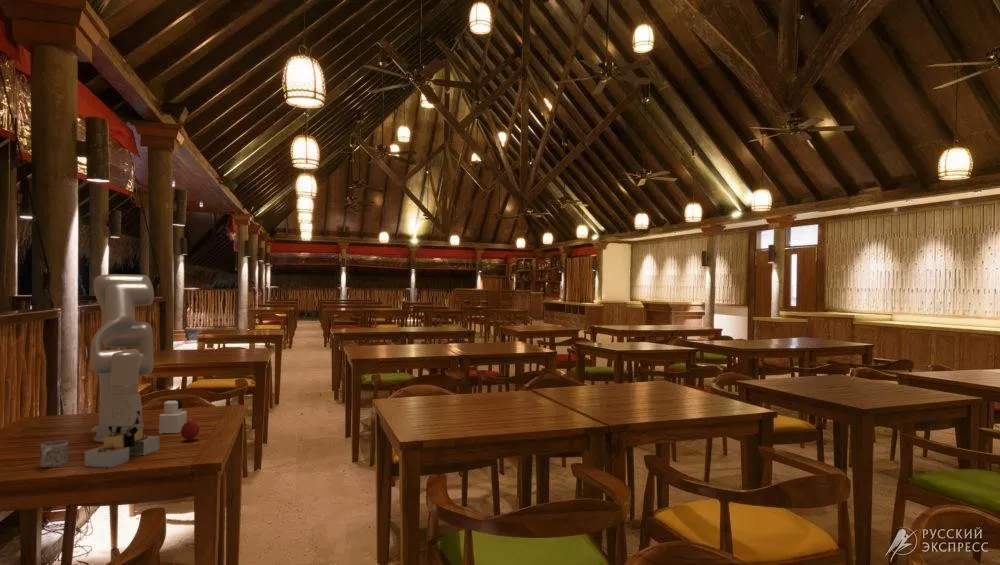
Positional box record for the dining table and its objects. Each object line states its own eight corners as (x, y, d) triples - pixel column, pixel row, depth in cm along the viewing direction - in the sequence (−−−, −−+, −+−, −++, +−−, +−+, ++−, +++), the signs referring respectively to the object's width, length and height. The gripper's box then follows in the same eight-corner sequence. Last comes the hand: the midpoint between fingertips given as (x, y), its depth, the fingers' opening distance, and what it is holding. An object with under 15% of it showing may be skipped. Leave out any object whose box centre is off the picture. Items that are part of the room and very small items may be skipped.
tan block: (103, 452, 177) (103, 434, 177) (133, 442, 189) (133, 425, 189) (113, 453, 177) (113, 435, 177) (142, 443, 189) (143, 426, 189)
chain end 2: (118, 454, 186) (118, 439, 187) (135, 448, 193) (135, 433, 194) (143, 455, 185) (143, 439, 185) (159, 449, 192) (159, 434, 192)
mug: (47, 462, 178) (48, 441, 178) (72, 460, 180) (72, 439, 180) (29, 472, 168) (29, 449, 169) (55, 470, 170) (55, 448, 170)
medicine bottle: (167, 429, 221) (168, 398, 221) (186, 429, 222) (187, 398, 222) (158, 434, 214) (158, 402, 214) (178, 433, 215) (178, 401, 215)
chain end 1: (84, 466, 174) (84, 449, 174) (103, 459, 181) (103, 443, 181) (111, 467, 172) (111, 450, 172) (129, 460, 179) (129, 444, 179)
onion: (190, 443, 200) (191, 420, 200) (176, 442, 201) (177, 420, 202) (202, 439, 206) (202, 417, 206) (188, 438, 207) (189, 416, 207)
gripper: (91, 391, 181) (91, 449, 180) (138, 392, 179) (138, 451, 178) (111, 387, 188) (110, 443, 188) (156, 388, 186) (155, 445, 186)
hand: (123, 446), depth 183 cm, fingers closed on tan block, 3 cm apart
